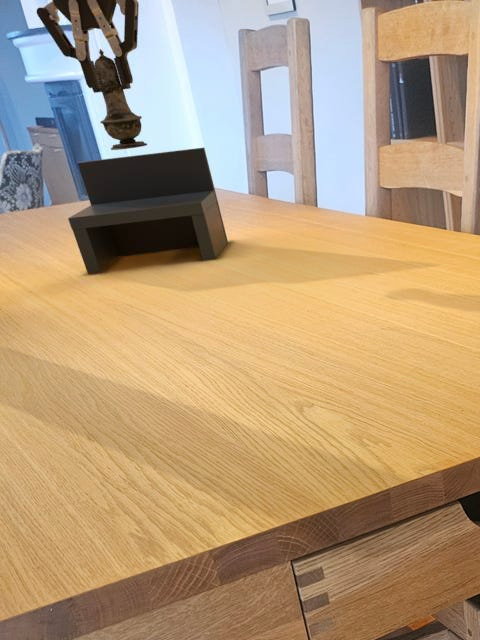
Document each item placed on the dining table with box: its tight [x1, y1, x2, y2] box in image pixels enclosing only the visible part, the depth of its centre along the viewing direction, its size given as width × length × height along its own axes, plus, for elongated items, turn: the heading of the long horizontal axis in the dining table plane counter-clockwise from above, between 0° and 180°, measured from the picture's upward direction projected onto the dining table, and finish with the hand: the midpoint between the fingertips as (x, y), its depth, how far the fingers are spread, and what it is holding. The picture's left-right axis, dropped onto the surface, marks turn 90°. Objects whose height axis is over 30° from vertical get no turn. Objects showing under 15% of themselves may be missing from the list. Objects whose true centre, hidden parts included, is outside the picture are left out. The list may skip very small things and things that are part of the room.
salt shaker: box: [94, 48, 148, 151], centre depth 120 cm, size 6×6×12 cm
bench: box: [67, 147, 229, 275], centre depth 131 cm, size 20×14×14 cm
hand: (112, 89), depth 119 cm, fingers closed on salt shaker, 3 cm apart
